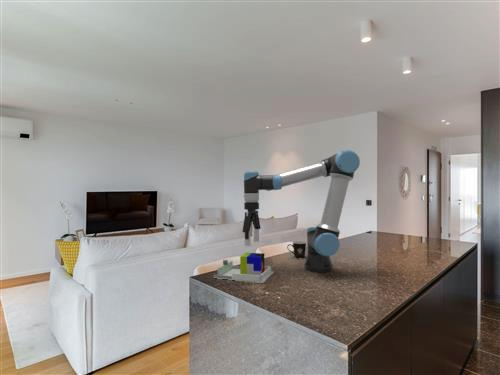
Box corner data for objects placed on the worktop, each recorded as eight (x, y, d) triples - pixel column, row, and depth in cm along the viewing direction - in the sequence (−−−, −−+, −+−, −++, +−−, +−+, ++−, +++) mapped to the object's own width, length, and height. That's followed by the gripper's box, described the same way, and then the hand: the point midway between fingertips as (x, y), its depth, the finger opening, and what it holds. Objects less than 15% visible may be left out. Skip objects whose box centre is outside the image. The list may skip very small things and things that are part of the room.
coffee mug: (308, 257, 186) (308, 242, 186) (303, 260, 179) (303, 244, 179) (292, 255, 192) (291, 240, 192) (286, 258, 185) (286, 242, 185)
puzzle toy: (260, 278, 137) (259, 257, 137) (240, 277, 139) (240, 256, 140) (264, 272, 146) (264, 253, 147) (246, 271, 149) (245, 252, 149)
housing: (273, 272, 149) (273, 266, 149) (263, 283, 131) (263, 276, 131) (229, 269, 157) (229, 263, 158) (213, 278, 140) (213, 271, 140)
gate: (233, 268, 155) (233, 257, 156) (220, 276, 140) (220, 264, 140) (229, 267, 156) (229, 257, 156) (216, 275, 140) (216, 263, 141)
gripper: (252, 201, 157) (253, 239, 156) (235, 202, 134) (235, 247, 133) (265, 201, 155) (266, 240, 154) (250, 202, 131) (251, 248, 130)
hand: (252, 243), depth 143 cm, fingers open, 13 cm apart
